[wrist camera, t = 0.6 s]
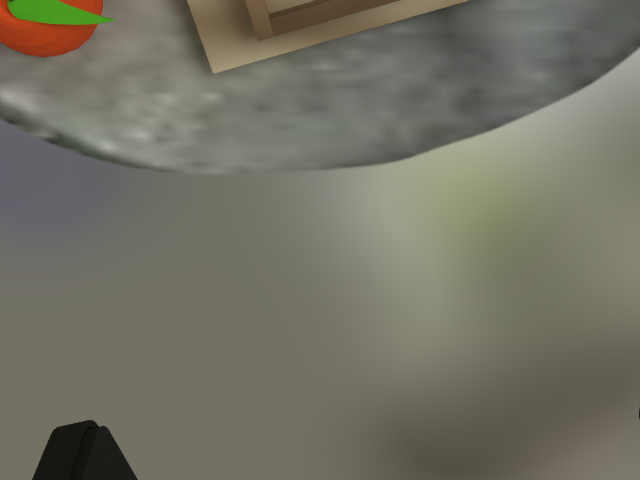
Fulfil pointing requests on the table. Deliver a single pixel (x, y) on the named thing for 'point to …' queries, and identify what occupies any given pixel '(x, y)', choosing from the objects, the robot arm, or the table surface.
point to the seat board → (290, 24)
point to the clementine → (48, 25)
